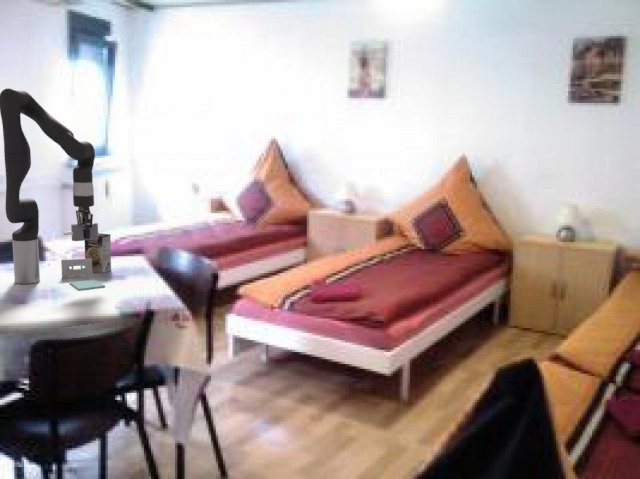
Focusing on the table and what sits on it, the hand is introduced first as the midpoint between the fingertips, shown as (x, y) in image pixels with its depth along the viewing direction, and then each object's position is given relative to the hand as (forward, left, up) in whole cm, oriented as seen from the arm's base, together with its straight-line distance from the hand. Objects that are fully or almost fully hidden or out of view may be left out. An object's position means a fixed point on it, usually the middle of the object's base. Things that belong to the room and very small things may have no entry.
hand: (85, 237), depth 255 cm
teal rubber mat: (0, 0, -19) cm, 19 cm away
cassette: (-16, +1, -20) cm, 25 cm away
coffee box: (-23, +12, -19) cm, 32 cm away
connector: (0, -1, -1) cm, 2 cm away
